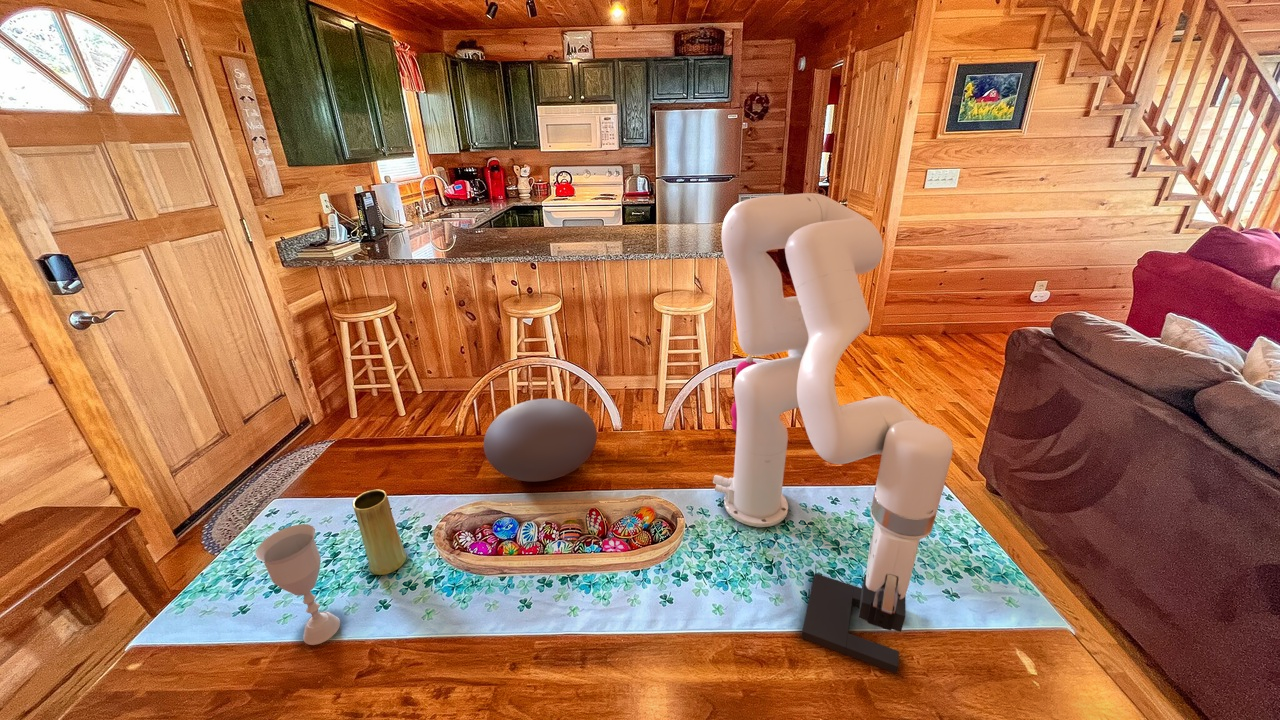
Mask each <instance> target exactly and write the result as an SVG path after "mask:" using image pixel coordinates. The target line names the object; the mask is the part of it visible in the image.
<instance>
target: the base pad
mask: <svg viewBox="0 0 1280 720" xmlns="http://www.w3.org/2000/svg"><path fill="white" fill-rule="evenodd" d="M861 590H862V587H860V586H856V585H852V584H849V583H847V582H843V581H840V580H838V579H834V578H831V577H828V576H825V575H822V574H819V573H816V572H815V573H814V575H813V579H812V584H811V588H810V593H809V598H808V602H807V607H806V612H805V617H804V619H803V620H804V621H803V625H802V629H801V635H800V638H801V639H803V640H806V641H807V642H811V643H813V644H816V645H818V646H821V647H824V648H827V649H830V650H832V651H835V652H838V653H839V654H841V655H844V656H845V655H846V656H848V657H851V658H853V659H855V660H858V661H861V662H864V663H867V664H869V665H871V666H873V667H876V668H880V669H883V670H885V671H888V672H890V673H893V674H895V675H896V674H897V673H898V671H899V664H900V663H899V662H900V651H899V650H897V649H894V648H891V647H889V646H885V645H883V644H880V643H877V642H875V641H872V640H868V639H866V638H864V637H860V636H858V635H855V634H852V633H850V632H849V629H850V622H851V615H852V608H853V607H852V606H854V607H858V608H860V599H861Z"/></svg>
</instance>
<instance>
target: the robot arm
mask: <svg viewBox="0 0 1280 720" xmlns="http://www.w3.org/2000/svg"><path fill="white" fill-rule="evenodd" d="M720 235H721V237H720V238H721V247H722V253H723V256H724V260H725V263H726V265H727V269H728V271H729V275H730V280H731V285H732V297H733V308H734V316H735V326H736V335H737V341H738V344H739V347H740V349H741V350H742V352H743V353H745V354H746V355H747V356H751V357H753V356H754V357H761V356H769V355H773V354H778V353H785V352H787V353H788V356H786V357H781V358H775V359H769V360H766V361H761V362H756V363H757V364H754V365H751V366H748V367H746V368H745V369H743V370H742V371H741V372H739V374H738V375H736V377H735V378H734V382H733V395H734V402H736V410H737V431H735V432H736V433H735V448H734V449H735V451H734V465H733V476H730V477H729V478H728V477H724V476H722V475H719V474H714V476H713V478H712V483H713V485H715V486H714V491H715V492H717V493H722V494H724V498H723V504H724V508H725V510H726V512H727V513H728V515H729V516H731V518H732V519H734V520H736V521H737V522H739V523H741V524H743V525H745V526H749V527H754V528H769V527H773V526H776V525H778V524H780V523H782V522H783V521H784V520H785V519H786V518H787V515H788V512H789V503H788V499H787V498H786V497H785V495H784V494H783V484H784V476H785V469H786V460H787V450H788V441H789V432H788V428H787V426H786V425H785V423H784V422H783V421H782V419H781V415H782V414H783V413H785V412H789V411H791V410H794V409H797V408H798V409H799V411H800V415H801V418H802V422H803V425H804V428H805V432H806V434H807V437H808V441H809V442H810V444H811V446H812V447H813V450H814V451H815V452H816V454H817V455H818V456H819V457H820V458H821V459H823V460H824V461H825V462H827V463H829V464H834V465H845V464H849V463H853V462H857V461H859V460H862V459H865V458H868V457H872V456H874V455H881V456H880V462H879V467H878V472H877V479H876V483H875V487H874V492H873V497H872V502H871V507H870V517H871V519H872V521H873V522H874V526H873V530H872V535H871V538H870V543H869V547H868V553H867V554H868V555H867V563H866V573H865V574H866V587H867V588H868V589H869V590H872V591H874V592H875V595H874V600H871V604H870V608H869V613H868V617H867V620H866V622H867V623H868V624H869V625H872V626H875V627H878V628H881V629H884V630H886V631H892V630H893V629H892V626H893V622H894V618H895V614H896V605H897V600H898V597H899V599H903V598H904V597H905V595H907V593H908V588H909V585H910V582H911V578H912V574H913V570H914V566H915V563H916V559H917V558H916V557H917V554H918V549H919V545H920V541H921V540H922V539H925V538H927V537H929V536H930V535H931V533H932V532H933V528H934V525H935V521H936V518H937V513H938V511H939V505H940V502H941V499H942V495H943V491H944V488H945V483H946V481H947V476H948V473H949V470H950V465H951V462H952V458H953V453H954V444H953V441H952V439H951V437H950V436H949V435H948V434H947V433H946V432H944V430H942V429H940V428H939V427H937V426H935V425H932V424H929V423H926V422H923V420H922V419H920V418H919V417H918V416H916V414H915V413H913V412H912V411H911V410H910V409H909V408H908V407H907V406H906V405H905V404H903V403H902V402H901V401H899V400H898V399H896V398H894V397H891V396H888V395H877V396H872V397H869V398H866V399H861V400H857V401H852V402H849V403H846V404H842V405H840V404H839V399H838V396H837V391H836V382H835V381H836V371H837V369H838V368H837V367H838V364H839V362H840V360H841V358H842V356H843V354H844V353H845V351H846V350H847V349H848V347H849V346H850V345H851V344H852V343H853V342H854V341H855V340H856V339H857V338H858V337H859V336H860V335H862V334H863V333H864V332H865V331H866V330H867V329H868V328H869V326H870V324H871V315H870V312H869V310H868V307H867V304H866V300H865V297H864V295H863V294H864V293H863V291H862V287H861V284H860V282H859V278H858V276H859V275H865V274H868V273H869V272H871V271H873V270H874V269H876V268H877V267H878V266H879V264H880V263H881V260H882V258H883V255H884V241H883V237H882V235H881V233H880V230H878V228H877V227H876V225H874V223H872V221H871V220H869V219H868V218H867V217H865V216H864V215H862V214H860V213H858V212H857V211H855V210H853V209H851V208H849V207H847V206H846V205H844V204H842V203H840V202H838V201H837V200H835V199H833V198H831V197H828V196H827V195H824V194H821V193H814V192H803V193H792V194H775V195H765V196H764V195H763V196H757V197H750V198H748V199H747V198H746V199H744V200H741V201H739V202H738V203H736V204H734V205H733V206H732V207H731V208H730V209H729V210H728V212H727V213H726V214H725V217H724V219H723V222H722V226H721V234H720ZM783 249H784V254H785V260H786V264H787V267H788V270H789V271H788V272H789V275H790V277H791V280H792V284H793V288H794V290H795V294H796V295H795V296H788V297H787V296H786V297H785V295H784V289H783V277H782V273H781V270H780V269H779V267H778V265H777V263H776V262H775V261H774V259H773V258H772V256H770V254H768V253H767V252H768V251H771V250H772V251H773V250H783ZM884 583H885V585H883V584H884ZM880 592H882V593H884V594H883V600H879V595H880Z"/></svg>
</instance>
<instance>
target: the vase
mask: <svg viewBox="0 0 1280 720" xmlns="http://www.w3.org/2000/svg"><path fill="white" fill-rule="evenodd" d="M390 504H391V503H390V499H389V497H388V495H387V493H386V491H384V490H383V489H371V490H367V491H364V492H362V493H360V494H359V495H357V496H356V497H355V498H354V499H353V501H352V508H353V510H354V514H355V517H356V521H357V524H358V528H359V532H360V536H361V539H362V543H363V546H364V550H365V554H366V557H367V561H368V569H369V571H370V572H371V573H372V574H373V575H377V576H385V575H389V574H392V573H393V572H396V571H397V570H398V569H400V568H401V567H402V566H403V565H404V564H405V562H406V560H407V558H408V557H407V556H408V555H407V553H406V551H405V548H404V545H403V542H402V539H401V536H400V534H399V531H398V527H397V525H396V522H395V518H394V515H393V513H392V508H391V505H390Z"/></svg>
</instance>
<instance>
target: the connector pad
mask: <svg viewBox="0 0 1280 720" xmlns="http://www.w3.org/2000/svg"><path fill="white" fill-rule="evenodd" d="M862 580H863V581H862V585H861V588H862V590H861V599H860V607H859V610H858V619H860V620H864V621H867V617H868V613H869V608H870V604H871V600H874V595H875V592H874V591H872V590H869V589H868V588H867V587H866V573H865V574H864V575H863V579H862ZM883 585H885V583H884V584H883ZM883 594H884V593H882V592H880V595H879V600H883ZM906 595H907V594H906ZM906 595H905V597H904V598H903V599H899V597H898V600H897V605H896V614H895V618H894V622H893V626H892V630H893V631H897V632H899V633H902V631H903V626H904V623H905V619H906V601H907V600H906V599H907V597H906Z"/></svg>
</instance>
